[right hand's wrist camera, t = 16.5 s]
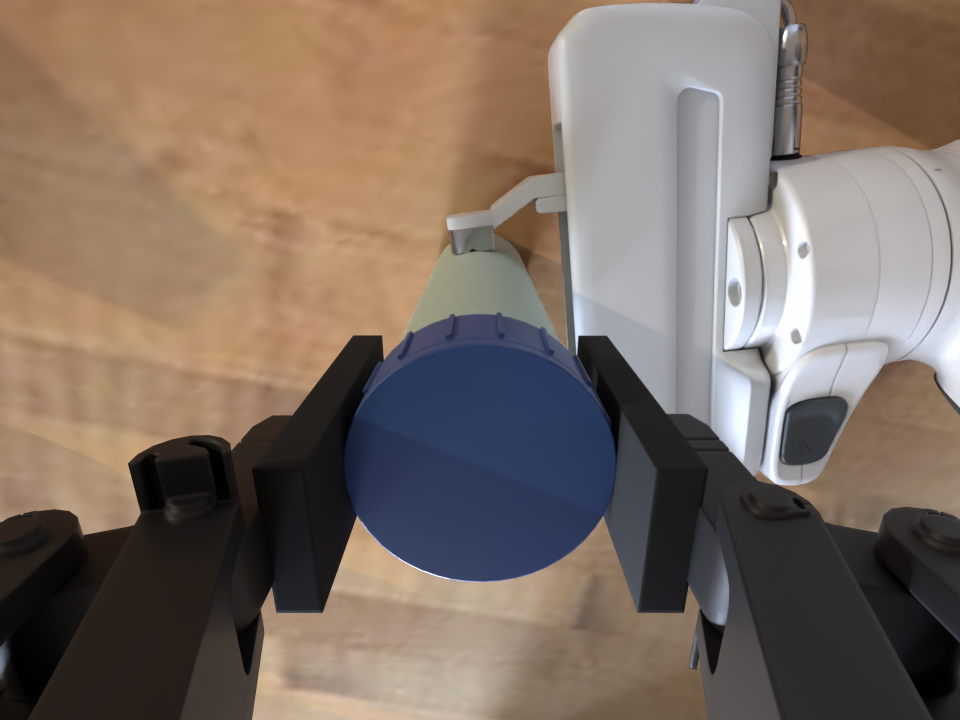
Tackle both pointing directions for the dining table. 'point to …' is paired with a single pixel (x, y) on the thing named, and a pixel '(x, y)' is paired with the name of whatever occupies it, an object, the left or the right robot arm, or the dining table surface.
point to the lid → (480, 450)
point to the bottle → (480, 288)
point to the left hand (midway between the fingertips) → (459, 308)
